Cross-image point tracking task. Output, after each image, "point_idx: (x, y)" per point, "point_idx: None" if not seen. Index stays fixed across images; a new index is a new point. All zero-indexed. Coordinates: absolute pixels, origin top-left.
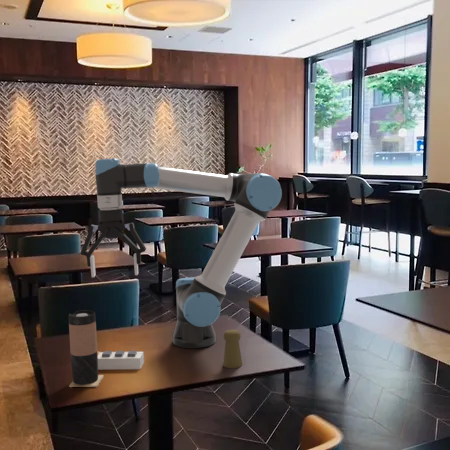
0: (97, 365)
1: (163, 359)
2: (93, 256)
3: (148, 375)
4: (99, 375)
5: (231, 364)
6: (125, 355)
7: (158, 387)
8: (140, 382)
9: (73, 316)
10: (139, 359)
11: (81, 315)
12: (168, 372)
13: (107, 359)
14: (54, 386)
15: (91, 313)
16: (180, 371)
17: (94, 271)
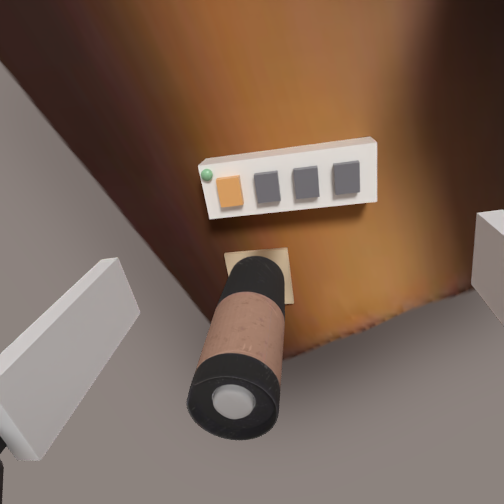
0: (284, 295)
1: (432, 102)
2: (16, 416)
3: (400, 230)
4: (278, 253)
5: None
6: (325, 182)
7: (435, 294)
8: (387, 271)
9: (202, 399)
10: (374, 200)
11: (236, 415)
12: (455, 207)
13: (279, 211)
14: (201, 299)
15: (252, 376)
16: (491, 197)
17: (110, 308)
